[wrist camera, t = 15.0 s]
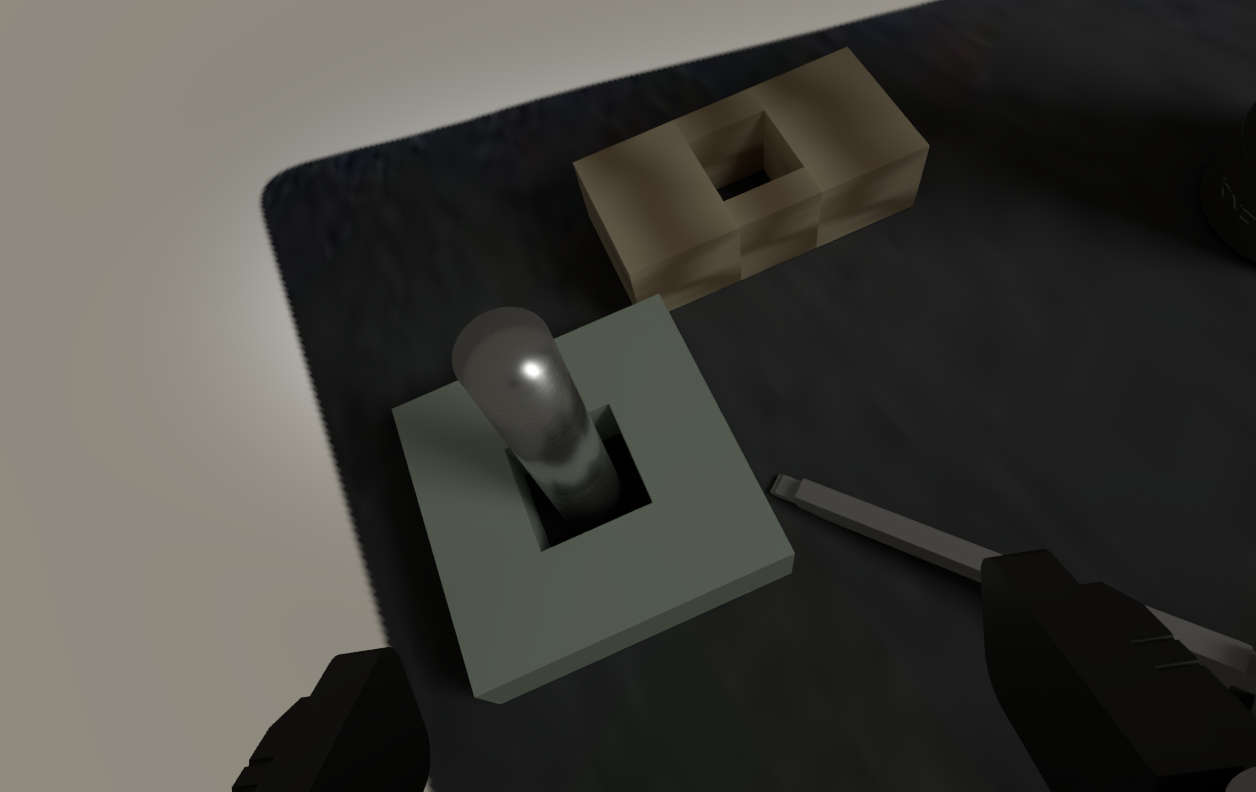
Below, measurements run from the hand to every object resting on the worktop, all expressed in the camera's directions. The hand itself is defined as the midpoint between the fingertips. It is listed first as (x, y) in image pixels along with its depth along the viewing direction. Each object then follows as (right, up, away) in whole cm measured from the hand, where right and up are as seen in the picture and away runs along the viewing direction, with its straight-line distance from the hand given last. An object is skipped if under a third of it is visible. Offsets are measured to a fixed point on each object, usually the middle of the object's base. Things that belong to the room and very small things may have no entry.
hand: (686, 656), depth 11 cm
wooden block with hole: (+6, +14, +33) cm, 36 cm away
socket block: (-3, -1, +27) cm, 27 cm away
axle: (-2, -2, +27) cm, 27 cm away
